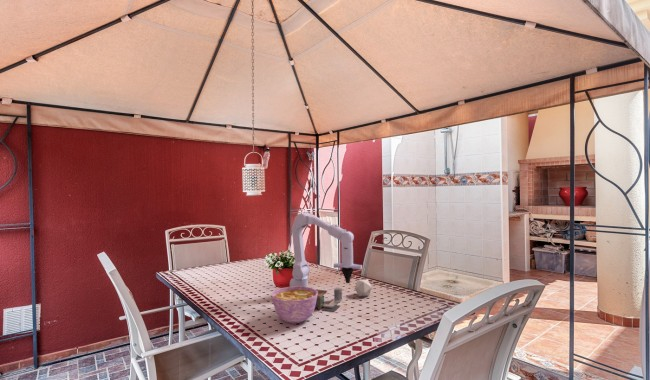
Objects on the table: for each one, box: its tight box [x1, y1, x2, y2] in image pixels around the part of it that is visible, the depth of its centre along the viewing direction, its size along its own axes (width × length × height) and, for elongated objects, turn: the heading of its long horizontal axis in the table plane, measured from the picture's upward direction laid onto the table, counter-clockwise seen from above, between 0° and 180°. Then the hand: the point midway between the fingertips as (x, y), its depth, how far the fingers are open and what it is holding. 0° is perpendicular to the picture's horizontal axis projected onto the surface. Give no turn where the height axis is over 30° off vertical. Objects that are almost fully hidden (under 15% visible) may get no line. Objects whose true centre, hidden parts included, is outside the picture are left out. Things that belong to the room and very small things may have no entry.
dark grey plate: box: [322, 304, 341, 313], centre depth 152 cm, size 6×8×1 cm
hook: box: [315, 287, 343, 309], centre depth 158 cm, size 10×15×6 cm
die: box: [354, 279, 373, 298], centre depth 170 cm, size 8×9×10 cm
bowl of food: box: [271, 286, 318, 325], centre depth 139 cm, size 20×20×12 cm
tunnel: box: [315, 289, 328, 311], centre depth 155 cm, size 6×8×7 cm
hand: (347, 282), depth 162 cm, fingers closed
